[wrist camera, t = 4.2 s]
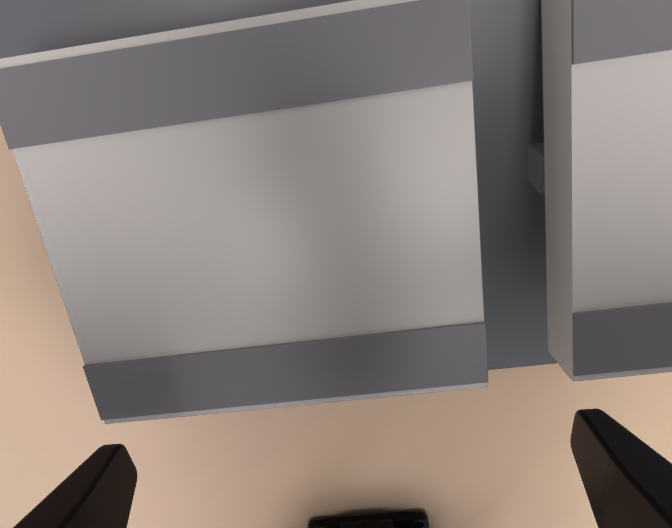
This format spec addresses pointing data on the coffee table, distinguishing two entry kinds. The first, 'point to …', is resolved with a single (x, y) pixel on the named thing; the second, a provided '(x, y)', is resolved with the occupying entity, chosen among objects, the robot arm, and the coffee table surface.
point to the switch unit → (489, 123)
